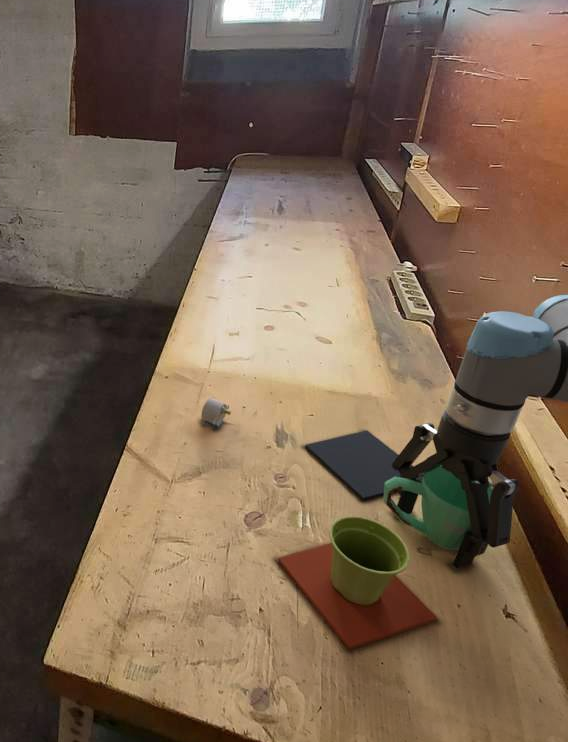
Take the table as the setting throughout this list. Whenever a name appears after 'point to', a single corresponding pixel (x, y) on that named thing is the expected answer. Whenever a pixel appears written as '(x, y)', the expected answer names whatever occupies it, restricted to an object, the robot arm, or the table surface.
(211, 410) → the electric motor
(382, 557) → the plant pot
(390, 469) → the charcoal mat
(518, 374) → the robot arm
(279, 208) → the table surface
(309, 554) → the terracotta mat
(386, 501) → the mug
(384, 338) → the table surface
